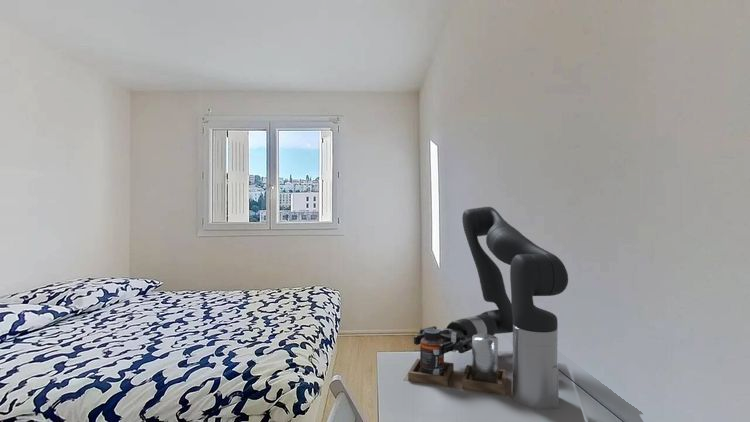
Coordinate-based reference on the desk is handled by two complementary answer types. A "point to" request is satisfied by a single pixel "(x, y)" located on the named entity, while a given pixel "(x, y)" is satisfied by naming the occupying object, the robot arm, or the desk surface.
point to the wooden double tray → (460, 380)
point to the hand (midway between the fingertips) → (427, 345)
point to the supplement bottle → (431, 353)
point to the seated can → (485, 358)
